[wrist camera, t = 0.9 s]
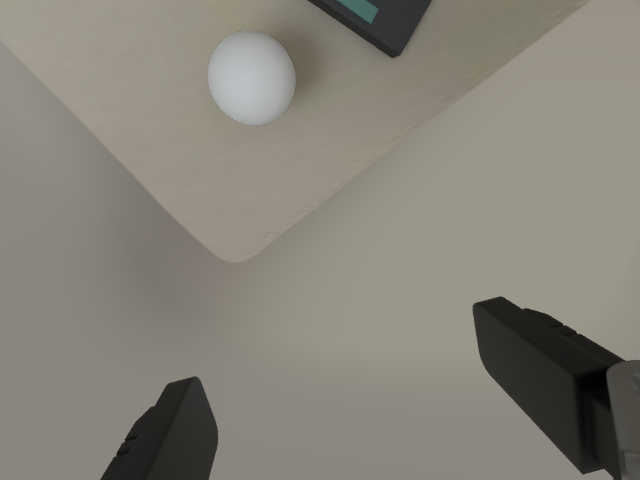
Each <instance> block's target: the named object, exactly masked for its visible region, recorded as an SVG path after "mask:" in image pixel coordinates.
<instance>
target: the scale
mask: <svg viewBox="0 0 640 480" xmlns="http://www.w3.org/2000/svg"><path fill="white" fill-rule="evenodd" d="M308 1H310V2H311V3H313V4H314V5H316V6H317V7H319V8H320V9H322V10H323V11H325V12H326V13H327V14H329V15H330V16H332V17H333V18H335V19H336V20H338V21H339V22H341V23H342V24H343V25H345V26H346V27H348V28H349V29H351V30H352V31H354V32H355V33H357V34H358V35H360V36H361V37H362V38H364V39H365V40H367V41H368V42H370V43H371V44H373V45H374V46H376V47H377V48H378V49H380V50H381V51H383V52H384V53H386V54H387V55H389V56H390V57H392V58H394V57H396V56H399V55H401V53H402V51H403V49H404V48H405V46H406V44H407V42H408V41H409V39H410V37H411V35H412V34H413V32H414V30H415V28H416V27H417V25H418V23H419V21H420V20H421V18H422V16H423V14H424V13H425V11H426V9H427V7H428V6H429V4H430V2H431V0H308Z"/></svg>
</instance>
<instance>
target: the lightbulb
mask: <svg viewBox="0 0 640 480" xmlns="http://www.w3.org/2000/svg"><path fill="white" fill-rule="evenodd" d="M208 83H209V87H210V91H211V93H212V96H213V98H214V100H215V102H216V103H217V105H218V106H219V108H220V109H221V110H222V111H223V112H224V113H225V114H226V115H228V116H229V117H230V118H232V119H233V120H235V121H237V122H239V123H242V124H246V125H254V126H258V125H265V124H267V123H270V122H273V121H274V120H276V119H278V118H279V117H280V116H281V115H282V114H283V113H284V112H285V111H286V110H287V108H288V107H289V105H290V104H291V101H292V99H293V97H294V92H295V86H296V77H295V70H294V67H293V64H292V61H291V59H290V57H289V55H288V53H287V52H286V50H285V49H284V48H283V47H282V45H281V44H280V43H278V42H277V41H276V40H275V39H274V38H272V37H270V36H268V35H267V34H264V33H261V32H258V31H250V30H246V31H239V32H236V33H234V34H231V35H229V36H228V37H226V38H225V39H223V40H222V41H221V42H220V43H219V44H218V45H217V47H216V48H215V50H214V52H213V53H212V56H211V58H210V61H209V66H208Z"/></svg>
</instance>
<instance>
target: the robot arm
mask: <svg viewBox="0 0 640 480" xmlns="http://www.w3.org/2000/svg"><path fill="white" fill-rule="evenodd" d="M473 316H474V322H475V329H476V336H477V342H478V347H479V353H480V357H481V360H482V362H483V365H484V367H485V368H486V370H487V371H488V373H489V374H490V376H491V377H492V378H493V379H494V380H495V381H496V382H497V383H498V384H499V385H500V386H501V387H502V388H503V389H504V390H505V392H506V393H507V394H508V395H509V396H510V397H511V398H512V399H513V400H514V401H515V402H516V403H517V404H518V405H519V407H520V408H521V409H522V410H523V411H524V412H525V413H526V414H527V415H528V416H529V417H530V418H531V419H532V421H533V422H534V423H535V424H536V425H537V426H538V427H539V428H540V429H541V430H542V431H543V432H544V433H545V435H546V436H548V438H549V439H550V440H551V441H552V442H553V443H554V444H555V445H556V446H557V447H558V449H559V450H560V451H561V452H562V453H563V454H564V455H565V456H566V457H567V458H568V459H569V460H570V461H571V462H572V464H574V466H575V467H576V468H577V469H578V470H579V471H580V472H581V473H582V474H586V473H590V472H594V471H597V470H600V469H605V470H606V471H607V472H608V473H609V474H610V475H611V476H612V477H613V480H640V360H631V361H625V360H623V359H622V358H620V357H618V356H617V355H615V354H613V353H611V352H610V351H608V350H607V349H605V348H603V347H601V346H600V345H598V344H596V343H595V342H593V341H591V340H590V339H588V338H586V337H585V336H583V335H581V334H577V333H576V331H574V330H573V329H571V328H569V327H568V326H563V323H561V322H559V321H558V320H556V319H554V318H553V317H551V316H549V315H548V314H545V313H541V312H538V311H534V310H531V309H527V308H525V309H521V308H520V307H518V306H516V305H515V304H513V303H512V302H510V301H509V300H507V299H505V298H503V297H496V298H493V299H489V300H485V301H481V302H477V303H475V304H474V305H473ZM217 445H218V430H217V425H216V421H215V418H214V416H213V413H212V410H211V408H210V405H209V402H208V399H207V397H206V394H205V391H204V388H203V386H202V383H201V381H200V380H199V378H198V377H191V378H187V379H183V380H179V381H176V382H172V383H169V384H168V385H167V386H166V387H165V389H164V391H163V393H162V394H161V396H160V398H159V399H158V401H157V403H156V405H155V406H153V407H151V408H149V409H148V410H147V411H146V412H145V414H143V416H141V417H140V418H139V419H138V420H137V421H136V422H135V424H134V425H133V427H132V428H131V430H130V432H129V433H128V435H127V437H126V439H125V442H124V443H122V445H121V447H120V448H119V450H118V452H117V456H116V457H114V458H113V460H112V461H111V463H110V465H109V466H108V468H107V470H106V471H105V473H104V474H103V476H102V478H101V479H100V480H208V479H209V476H210V472H211V468H212V464H213V461H214V457H215V453H216V450H217Z"/></svg>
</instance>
